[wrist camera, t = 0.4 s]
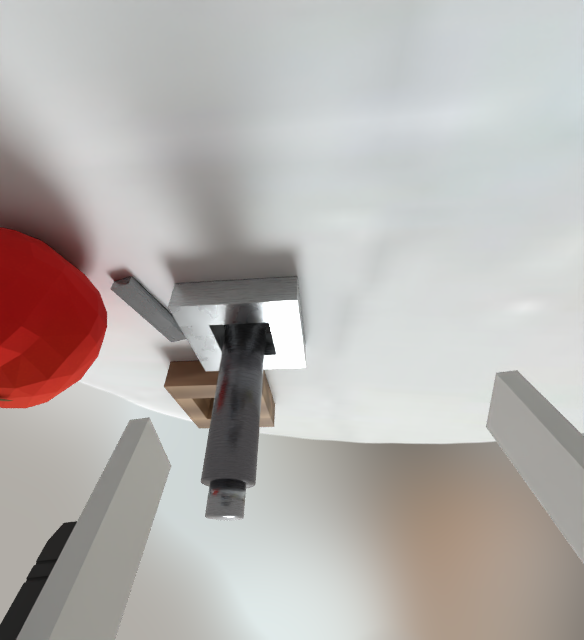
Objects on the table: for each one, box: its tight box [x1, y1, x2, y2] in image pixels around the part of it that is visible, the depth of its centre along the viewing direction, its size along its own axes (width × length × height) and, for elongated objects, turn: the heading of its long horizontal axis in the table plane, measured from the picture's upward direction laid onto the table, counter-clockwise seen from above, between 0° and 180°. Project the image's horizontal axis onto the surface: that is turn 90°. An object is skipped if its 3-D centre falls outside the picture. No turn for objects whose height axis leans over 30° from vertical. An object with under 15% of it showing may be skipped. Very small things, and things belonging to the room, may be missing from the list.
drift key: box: [111, 276, 186, 342], centre depth 30 cm, size 8×2×1 cm, turn 20°
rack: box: [164, 361, 275, 428], centre depth 41 cm, size 12×10×3 cm
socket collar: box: [168, 277, 306, 371], centre depth 31 cm, size 10×10×2 cm
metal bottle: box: [201, 322, 267, 520], centre depth 27 cm, size 4×4×16 cm
